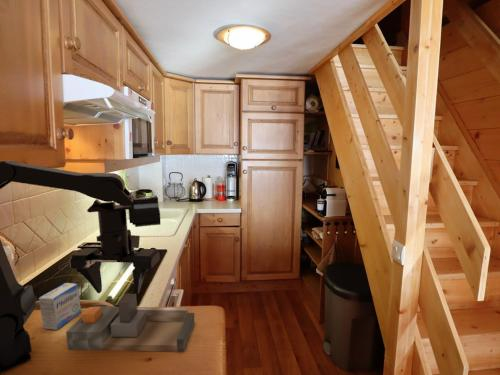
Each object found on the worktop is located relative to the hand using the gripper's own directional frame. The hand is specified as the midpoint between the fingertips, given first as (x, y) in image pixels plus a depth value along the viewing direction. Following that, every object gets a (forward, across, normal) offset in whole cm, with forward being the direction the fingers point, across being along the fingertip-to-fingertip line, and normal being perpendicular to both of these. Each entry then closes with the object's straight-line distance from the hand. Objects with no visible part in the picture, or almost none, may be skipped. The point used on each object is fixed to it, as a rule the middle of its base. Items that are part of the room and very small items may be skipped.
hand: (118, 292), depth 67 cm
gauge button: (+8, +7, 0) cm, 11 cm away
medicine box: (+12, +19, -6) cm, 23 cm away
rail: (+11, -3, 0) cm, 12 cm away
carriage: (+9, -2, 0) cm, 10 cm away
